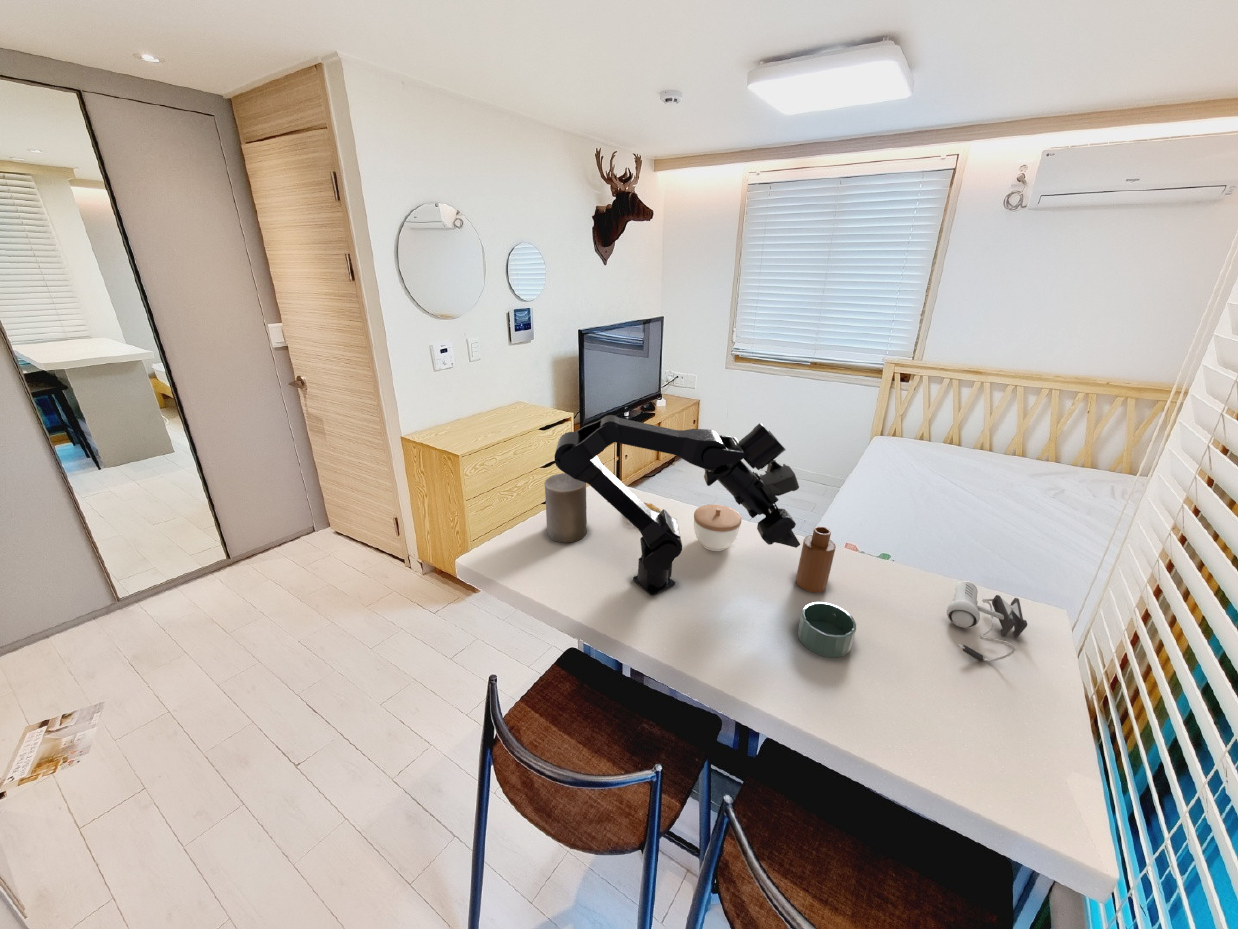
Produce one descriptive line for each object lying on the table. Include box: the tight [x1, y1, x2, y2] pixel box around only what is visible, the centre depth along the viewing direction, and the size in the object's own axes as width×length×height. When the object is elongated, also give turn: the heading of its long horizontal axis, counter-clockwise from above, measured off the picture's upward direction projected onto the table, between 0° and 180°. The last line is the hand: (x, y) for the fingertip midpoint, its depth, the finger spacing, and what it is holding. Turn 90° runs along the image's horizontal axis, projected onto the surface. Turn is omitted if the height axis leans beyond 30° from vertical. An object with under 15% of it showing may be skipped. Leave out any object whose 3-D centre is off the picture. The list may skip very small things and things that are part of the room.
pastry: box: [642, 501, 662, 513], centre depth 129 cm, size 9×7×4 cm
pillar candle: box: [544, 472, 588, 544], centre depth 118 cm, size 10×10×15 cm
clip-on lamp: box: [946, 580, 1028, 662], centre depth 91 cm, size 12×6×18 cm
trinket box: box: [693, 503, 742, 552], centre depth 116 cm, size 11×11×9 cm
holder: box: [797, 601, 857, 659], centre depth 90 cm, size 9×9×5 cm
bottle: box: [795, 525, 837, 594], centre depth 103 cm, size 6×6×13 cm
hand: (790, 532), depth 100 cm, fingers open, 9 cm apart
